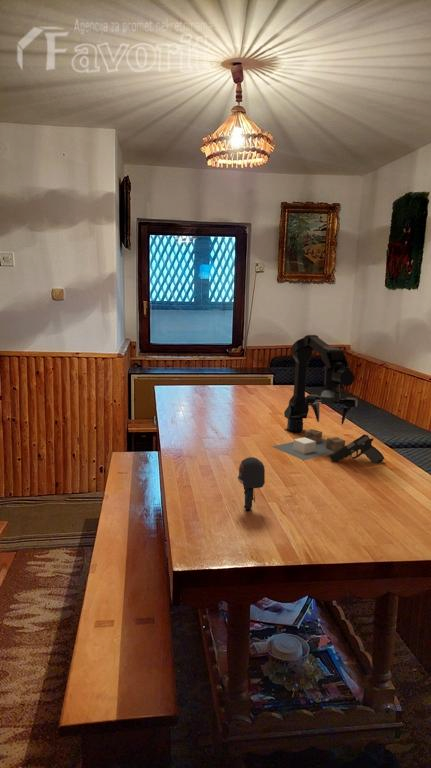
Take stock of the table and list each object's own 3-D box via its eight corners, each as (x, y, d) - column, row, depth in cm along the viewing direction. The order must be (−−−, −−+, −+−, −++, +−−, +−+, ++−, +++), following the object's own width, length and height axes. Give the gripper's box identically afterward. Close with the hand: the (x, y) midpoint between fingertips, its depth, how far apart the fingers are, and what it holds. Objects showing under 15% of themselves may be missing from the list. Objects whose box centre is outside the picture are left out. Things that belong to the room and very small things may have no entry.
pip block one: (304, 440, 205) (305, 430, 204) (311, 438, 208) (312, 428, 207) (314, 443, 201) (315, 433, 200) (321, 441, 205) (322, 431, 204)
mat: (271, 447, 196) (271, 446, 196) (317, 437, 210) (317, 437, 210) (303, 461, 181) (303, 460, 181) (351, 449, 196) (351, 448, 196)
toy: (234, 502, 145) (236, 452, 142) (260, 501, 146) (263, 453, 143) (238, 516, 136) (240, 464, 133) (266, 516, 137) (269, 464, 134)
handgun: (384, 457, 182) (368, 430, 180) (385, 459, 181) (370, 432, 178) (343, 480, 184) (327, 454, 182) (345, 482, 182) (329, 456, 180)
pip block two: (326, 448, 196) (326, 437, 195) (335, 446, 198) (336, 436, 197) (334, 451, 192) (335, 441, 191) (344, 450, 194) (345, 440, 193)
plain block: (292, 449, 193) (293, 439, 192) (304, 447, 196) (304, 437, 196) (303, 453, 188) (304, 443, 187) (315, 451, 191) (315, 441, 191)
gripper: (302, 383, 184) (300, 424, 186) (353, 387, 176) (351, 430, 178) (309, 379, 194) (308, 418, 196) (358, 383, 186) (356, 424, 188)
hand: (330, 423), depth 190 cm, fingers open, 9 cm apart
